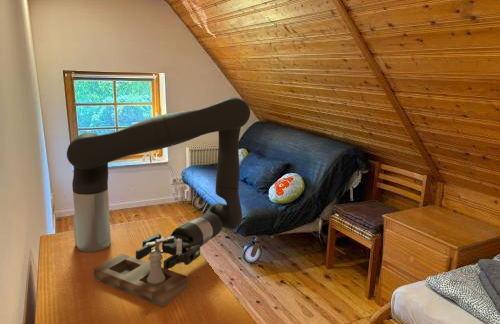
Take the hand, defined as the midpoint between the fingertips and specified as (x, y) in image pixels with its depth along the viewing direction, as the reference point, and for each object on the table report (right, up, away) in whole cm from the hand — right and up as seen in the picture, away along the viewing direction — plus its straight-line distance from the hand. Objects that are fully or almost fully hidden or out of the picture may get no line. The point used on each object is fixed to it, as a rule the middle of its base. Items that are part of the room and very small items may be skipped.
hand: (150, 260), depth 84 cm
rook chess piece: (0, -7, +3) cm, 8 cm away
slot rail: (-4, -7, +6) cm, 10 cm away
